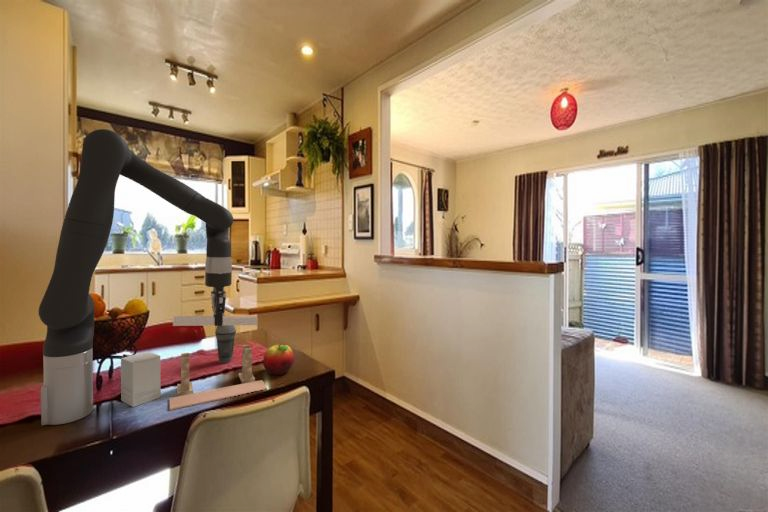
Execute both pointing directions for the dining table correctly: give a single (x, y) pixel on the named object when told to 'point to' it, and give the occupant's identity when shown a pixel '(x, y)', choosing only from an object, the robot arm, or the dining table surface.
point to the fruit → (278, 359)
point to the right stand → (246, 365)
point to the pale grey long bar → (213, 320)
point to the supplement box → (140, 378)
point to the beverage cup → (225, 342)
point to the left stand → (184, 377)
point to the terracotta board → (215, 394)
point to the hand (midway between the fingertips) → (217, 324)
